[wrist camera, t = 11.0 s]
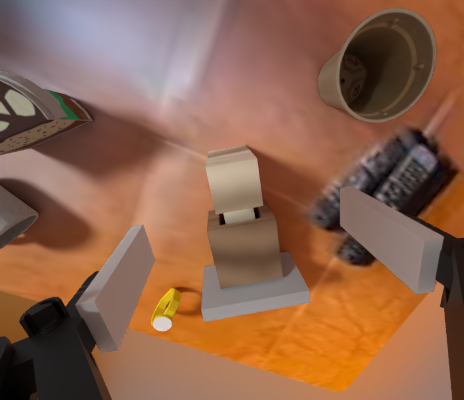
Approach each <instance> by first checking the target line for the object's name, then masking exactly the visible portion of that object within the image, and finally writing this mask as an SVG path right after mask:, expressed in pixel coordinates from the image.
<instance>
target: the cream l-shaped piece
mask: <svg viewBox="0 0 464 400" xmlns="http://www.w3.org/2000/svg"><path fill="white" fill-rule="evenodd" d="M206 172H207V176H208V181H209V186H210V190H211V195H212V200H213V204H214V209H215V213H216V214H222V213H224V218H225V223H226V224H231V223H236V222H242V221H247V220H253V219H255V215H254V207H260V206H263V199H262V192H261V184H260V177H259V169H258V161H257V158H256V156H255V155H254V154H253V153H252V152H251V151H250V150H249V149H248V148H247V146H246V145H241V146H236V147H230V148H225V149H219V150H214V151H209V153H208V158H207V163H206Z"/></svg>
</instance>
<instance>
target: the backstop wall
mask: <svg viewBox="0 0 464 400" xmlns="http://www.w3.org/2000/svg"><path fill="white" fill-rule="evenodd" d="M280 257H281V266H282V274H283V278H279V279H274V280H268V281H263V282H257V283H252V284H246V285H241V286H235V287H230V288H224V289H221V288H220V284H219V280H218V275H217V271H216V267H215V265H210V266H205V267H204V277H203V290H202V303H201V312H202V316H203V319H204V322H206V321H212V320H217V319H223V318H228V317H233V316H239V315H244V314H250V313H255V312H261V311H266V310H272V309H277V308H283V307H288V306H294V305H299V304H305V303H310V291H309V289H308V287H307V285H306V283H305V281H304V279H303V277H302V275H301V273H300V271H299V270H298V268H297V266H296V264H295V262H294V260H293V258H292V256H291V254H290V252H289V251H287V252H282V253H280Z"/></svg>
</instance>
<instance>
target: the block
mask: <svg viewBox="0 0 464 400" xmlns="http://www.w3.org/2000/svg"><path fill="white" fill-rule="evenodd" d="M257 213H258V219H253V220H247V221H242V222H236V223H231V224H225V225H222V223H221V219H220V214H216V213H215V210H214V211H209V213H208V226H207V233H208V237H209V242H210V246H211V250H212V254H213V259H214V263H215V267H216V271H217V275H218V280H219V284H220V288H221V289H224V288H230V287H235V286H241V285H246V284H252V283H257V282H263V281H268V280H274V279H279V278H283V274H282V266H281V257H280V248H279V239H278V230H277V222H276V218H275V216H274V214H273V212H272V211H271V209H270V207H269V205H268V204H267V202H266V201H263V206H260V207H257Z"/></svg>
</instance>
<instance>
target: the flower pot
mask: <svg viewBox="0 0 464 400" xmlns="http://www.w3.org/2000/svg"><path fill="white" fill-rule="evenodd" d="M436 57H437V48H436V41H435V35H434V33H433V31H432V29H431V27H430V25H429V23H427V21H426V20H425V19H424V18H423V17H422V16H421V15H419V14H417V13H416V12H414V11H411V10H409V9H404V8H388V9H385V10H382V11H379V12H377V13H374V14H372V15H371V16H369V17H368V18H366V19H365V20H364V21H362V22H361V23H360V24H359V25H358V26H357V27H356V28H355V29H354V30H353V31H352V33H351V34H350V35H349V37H348V38H347V40H346V41H345V43H344V45H343V47H342V48H341V49H340V50H339V51H338V52H337V53H336V54H335V55H333V56H332V57H331V58H330V59H329V60H328V61H327V62H326V63H325V64H324V66H323V67H322V69H321V71H320V74H319V77H318V89H319V94H320V97H321V98H322V100H323V101H324V102H325V103H326V104H328V105H329V106H332V107H336V108H340V109H343V110H346V111H347V112H348V113H349V114H350V115H351V116H353V117H354V118H356V119H358V120H360V121H363V122H368V123H382V122H387V121H390V120H393V119H395V118H397V117H399V116H401V115H402V114H404V113H405V112H407V111H408V110H409V109H410V108H411V107H412V106H413V105H414V104H415V103H417V101H418V100H419V99H420V97H421V96H422V95H423V93H424V92H425V90H426V88H427V86H428V85H429V83H430V81H431V78H432V75H433V72H434V69H435V63H436ZM349 58H353V59H355V60H356V62H357V64H354V63H353V62H351V61H349V60H348V59H349ZM342 79H344V82H342ZM358 85H359V89H358V91H357V93H356V95H353V92H354V91H355V90H356V88H357V86H358Z"/></svg>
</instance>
